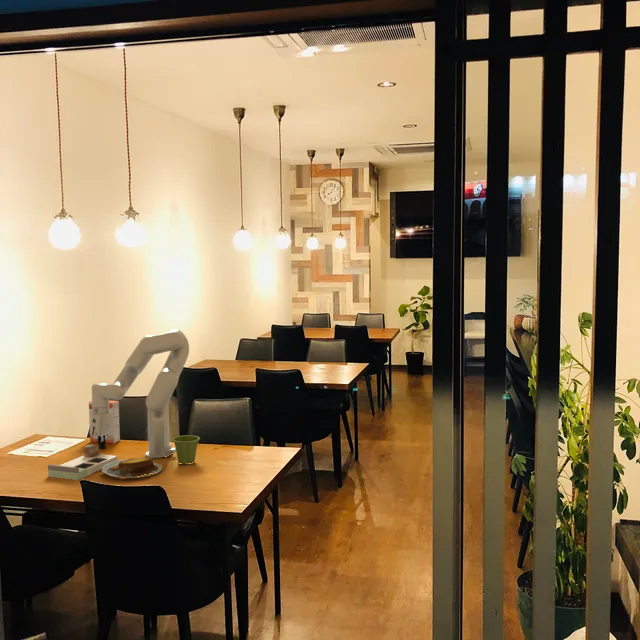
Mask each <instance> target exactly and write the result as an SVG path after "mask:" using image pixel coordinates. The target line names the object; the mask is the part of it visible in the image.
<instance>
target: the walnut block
mask: <svg viewBox="0 0 640 640" xmlns="http://www.w3.org/2000/svg"><path fill="white" fill-rule="evenodd" d="M99 454H100V450H99V445H98V444H88V445H85V446H84V447H83V456H84V457H91V458H93V457H95V456H98V455H99Z"/></svg>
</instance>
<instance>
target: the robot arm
mask: <svg viewBox="0 0 640 640" xmlns="http://www.w3.org/2000/svg"><path fill="white" fill-rule="evenodd" d="M166 352H169V354H168V356H167V358H166V361H165V363H164V364H163V367H162V368H161V370H160V371H159V372H158V374H157V376H156V378H155V381H154V383H153V384H152V387H151V389H150V391H149V392H148V393H147V396H146V399H145V406H146V408H147V428H148V429H147V436H148V437H147V438H148V451H146V452H145V457H150V458H151V459H160V458H159V457H165V456H168V455H171V454H172V453H173V454H177V453H176V447H172V444H170V400H171V398H172V395H173V394H174V391H175V389H176V388H177V385H178V382H179V378H180V375H181V374H182V371H183V370H184V367H185V365H186V362H187V359H188V357H189V354H190V344H189V341H188V338H187V337H186V334H184V333H183V332H182V331H181V330H180V329H177V328H175V329H174V328H173V329H170V330H169V331H168V332H164V333H161V334H156V335H153V334H152V335H151V334H148V335H145V336H143V337H142V338H141V340H140V341H139V343H138V344H137V346H136V347H135V349H133V351H132V352H131V354H130V356H129V357H128V359H127V360H126V362H125V364H124V366H123V368H122V369H121V371H120V372H119V374H118V375H117V377H116V378H115V379H114V382H113V383H111V384H108V383H106V382H97V383H93V384H92V385H91V401H92V421H91V433H92V435H93V439H97V441H98V442H97V445H99V451H100V450H102V451H104V450H106V449H107V443H106V441H105V440H107V436H108V435H109V434H110V433H111V432H112V431H113V424H112V416H111V412H110V408H109V401H110V400H111V401H119V400H122V399H123V398H124V397H125V395H126V393H127V392H128V391H129V389H130V388H131V387H132V385H133V383H134V382H135V380H136V379H137V378H138V377H139V375H140V374H141V373H142V372H143V371H144V369H146V366H148V364H149V362H150V361H151V360H152V358H153V356H154V355H159V354H163V353H166ZM171 456H172V455H171ZM165 458H166V457H165Z"/></svg>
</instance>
